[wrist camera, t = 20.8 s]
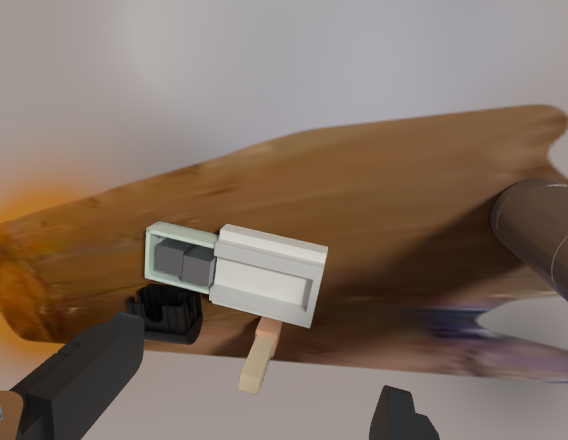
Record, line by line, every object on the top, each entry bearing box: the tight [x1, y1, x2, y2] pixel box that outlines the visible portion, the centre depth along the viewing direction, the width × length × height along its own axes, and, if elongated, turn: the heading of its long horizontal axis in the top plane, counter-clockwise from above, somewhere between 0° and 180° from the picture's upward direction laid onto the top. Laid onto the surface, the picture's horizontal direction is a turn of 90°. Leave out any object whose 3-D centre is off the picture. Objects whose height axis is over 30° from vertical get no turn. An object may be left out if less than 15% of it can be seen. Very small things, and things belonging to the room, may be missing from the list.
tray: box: [145, 221, 220, 295], centre depth 51 cm, size 10×8×4 cm
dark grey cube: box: [156, 237, 196, 277], centre depth 50 cm, size 4×4×4 cm
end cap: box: [126, 284, 203, 345], centre depth 53 cm, size 10×7×7 cm
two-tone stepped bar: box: [238, 316, 282, 395], centre depth 48 cm, size 3×4×12 cm
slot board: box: [209, 224, 328, 328], centre depth 49 cm, size 15×12×4 cm
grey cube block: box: [182, 245, 217, 287], centre depth 50 cm, size 4×4×4 cm
